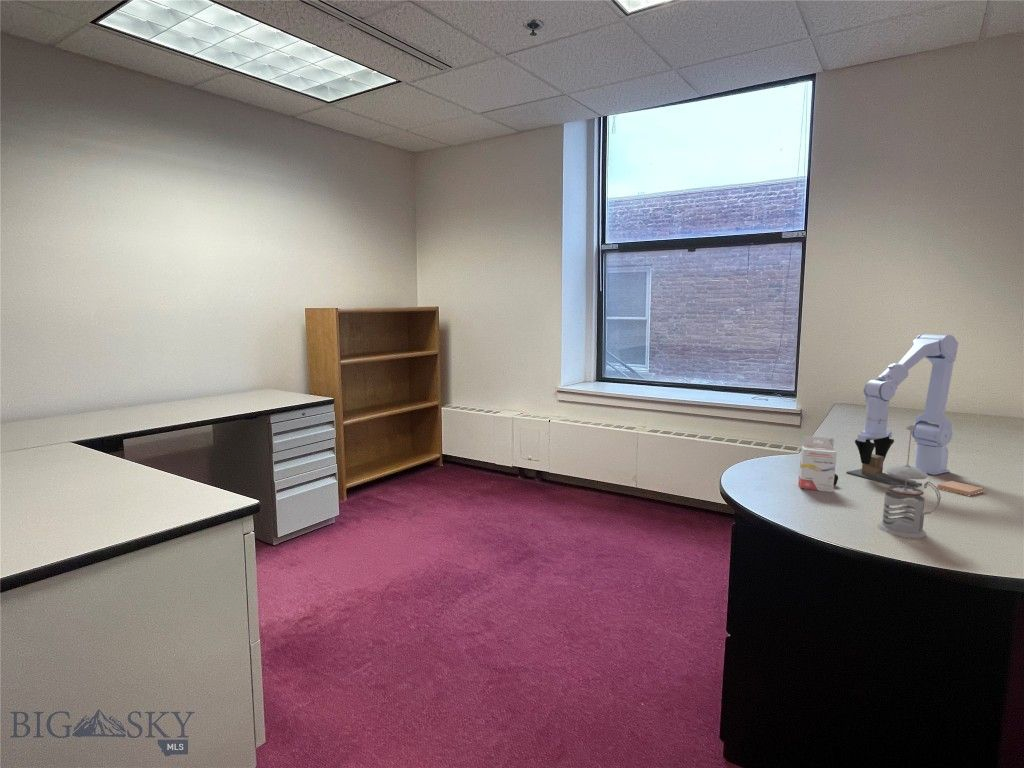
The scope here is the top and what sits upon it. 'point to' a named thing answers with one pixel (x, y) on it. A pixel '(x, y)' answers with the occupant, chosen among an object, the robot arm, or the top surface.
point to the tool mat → (859, 473)
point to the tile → (960, 488)
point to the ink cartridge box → (817, 464)
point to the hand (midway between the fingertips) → (872, 462)
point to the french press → (905, 502)
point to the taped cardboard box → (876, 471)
